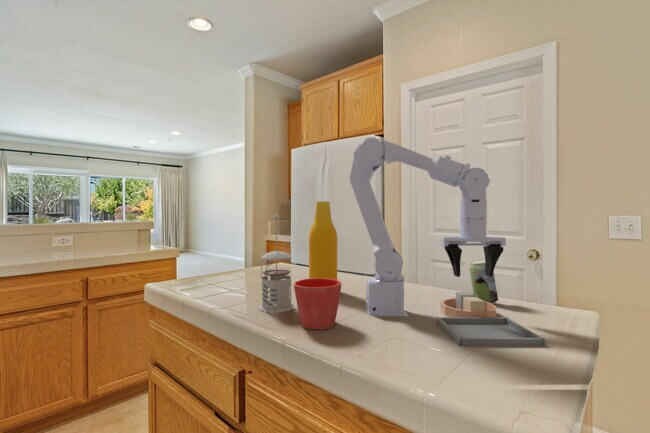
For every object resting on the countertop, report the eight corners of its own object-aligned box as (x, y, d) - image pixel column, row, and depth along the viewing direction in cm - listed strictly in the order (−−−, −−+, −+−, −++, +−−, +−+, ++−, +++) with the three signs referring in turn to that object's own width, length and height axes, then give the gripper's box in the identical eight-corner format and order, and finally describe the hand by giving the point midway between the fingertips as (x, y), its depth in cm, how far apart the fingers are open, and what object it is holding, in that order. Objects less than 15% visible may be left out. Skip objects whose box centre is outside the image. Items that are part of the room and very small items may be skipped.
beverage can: (501, 307, 91) (501, 262, 90) (471, 305, 92) (472, 262, 92) (494, 301, 97) (494, 259, 97) (467, 300, 98) (467, 258, 98)
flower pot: (294, 317, 82) (293, 277, 82) (338, 316, 83) (338, 277, 83) (293, 333, 72) (293, 287, 72) (344, 331, 73) (344, 286, 72)
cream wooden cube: (484, 320, 78) (484, 301, 78) (470, 320, 78) (470, 301, 78) (476, 314, 82) (476, 296, 82) (463, 314, 82) (463, 296, 82)
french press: (270, 315, 84) (270, 215, 84) (248, 305, 93) (247, 215, 92) (302, 308, 90) (301, 214, 90) (278, 299, 99) (277, 214, 99)
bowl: (452, 324, 77) (452, 311, 77) (434, 308, 90) (434, 298, 90) (506, 324, 77) (506, 311, 77) (481, 308, 90) (481, 297, 90)
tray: (459, 348, 63) (459, 339, 63) (436, 325, 76) (436, 317, 76) (544, 348, 63) (544, 339, 63) (507, 325, 76) (507, 317, 76)
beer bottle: (340, 289, 111) (340, 201, 111) (332, 296, 103) (332, 201, 102) (314, 287, 114) (314, 202, 114) (304, 294, 105) (304, 201, 105)
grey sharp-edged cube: (460, 312, 84) (460, 295, 84) (455, 309, 87) (455, 292, 87) (476, 312, 84) (476, 295, 84) (471, 309, 87) (471, 292, 87)
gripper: (448, 219, 76) (448, 279, 76) (513, 219, 76) (512, 279, 76) (438, 218, 83) (438, 273, 83) (497, 218, 83) (496, 273, 83)
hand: (472, 276), depth 80 cm, fingers open, 7 cm apart
